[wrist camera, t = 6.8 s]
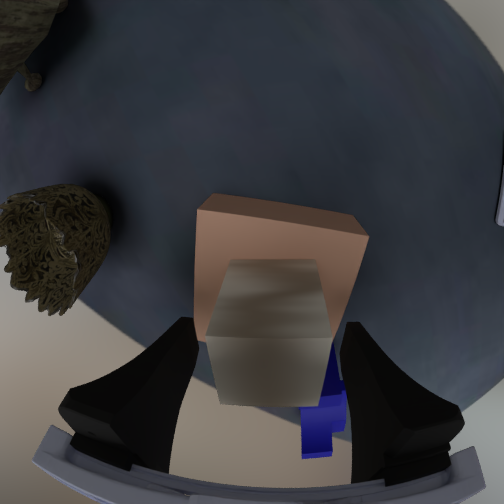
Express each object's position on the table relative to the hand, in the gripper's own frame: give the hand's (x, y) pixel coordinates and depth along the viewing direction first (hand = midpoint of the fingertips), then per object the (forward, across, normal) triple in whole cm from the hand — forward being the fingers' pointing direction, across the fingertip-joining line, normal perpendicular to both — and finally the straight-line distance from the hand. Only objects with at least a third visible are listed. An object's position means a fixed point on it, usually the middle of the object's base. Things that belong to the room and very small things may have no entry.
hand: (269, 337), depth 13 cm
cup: (+7, +13, -4) cm, 15 cm away
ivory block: (+3, 0, 0) cm, 4 cm away
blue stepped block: (+8, -5, +13) cm, 16 cm away
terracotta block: (+8, 0, 0) cm, 8 cm away
